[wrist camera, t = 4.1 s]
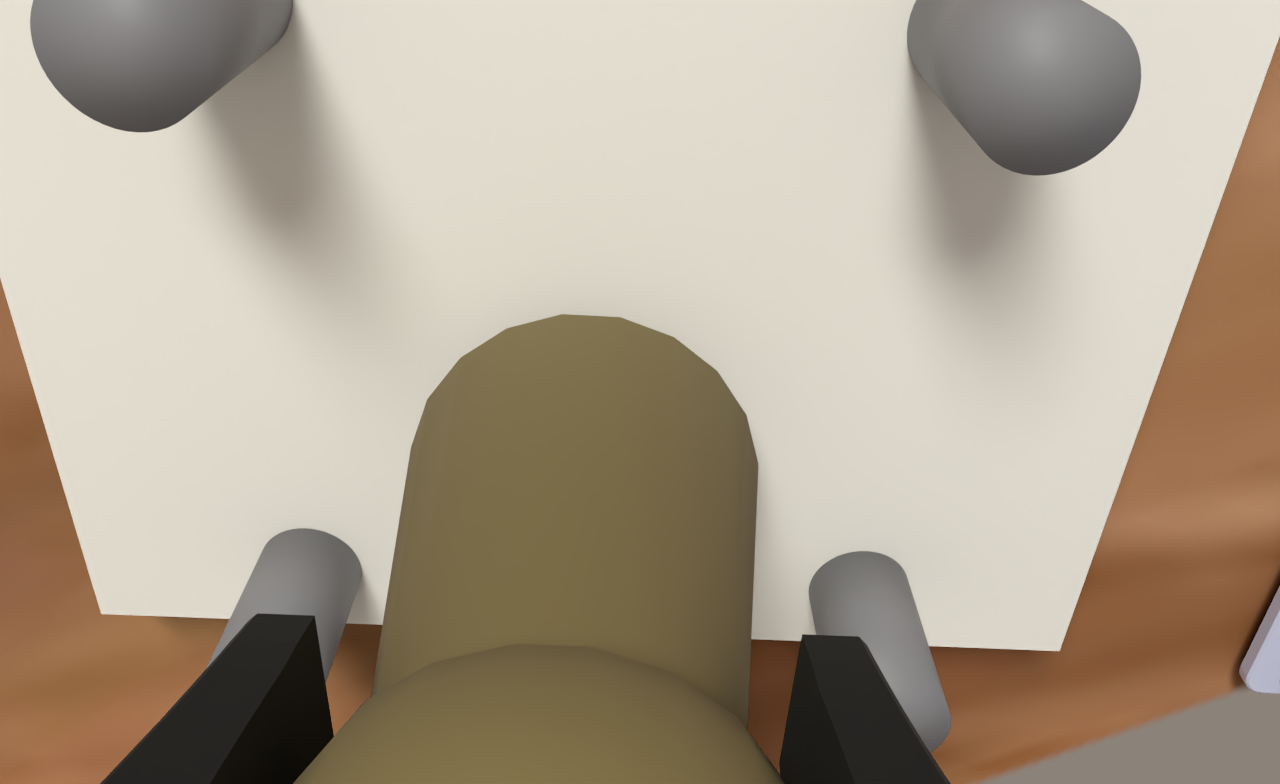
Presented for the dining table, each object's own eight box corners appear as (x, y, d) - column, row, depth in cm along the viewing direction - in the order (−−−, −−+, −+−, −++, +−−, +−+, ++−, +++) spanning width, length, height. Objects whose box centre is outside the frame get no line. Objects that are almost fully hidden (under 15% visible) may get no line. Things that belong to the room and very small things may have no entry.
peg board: (1262, -82, 16) (1486, -20, 12) (1037, 601, 23) (1124, 792, 19) (-64, -153, 16) (-330, -115, 11) (131, 565, 23) (14, 752, 19)
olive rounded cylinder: (646, 678, 20) (660, 1435, 9) (351, 536, 19) (2, 1221, 8) (826, 422, 18) (1087, 1018, 8) (511, 246, 17) (312, 666, 6)
